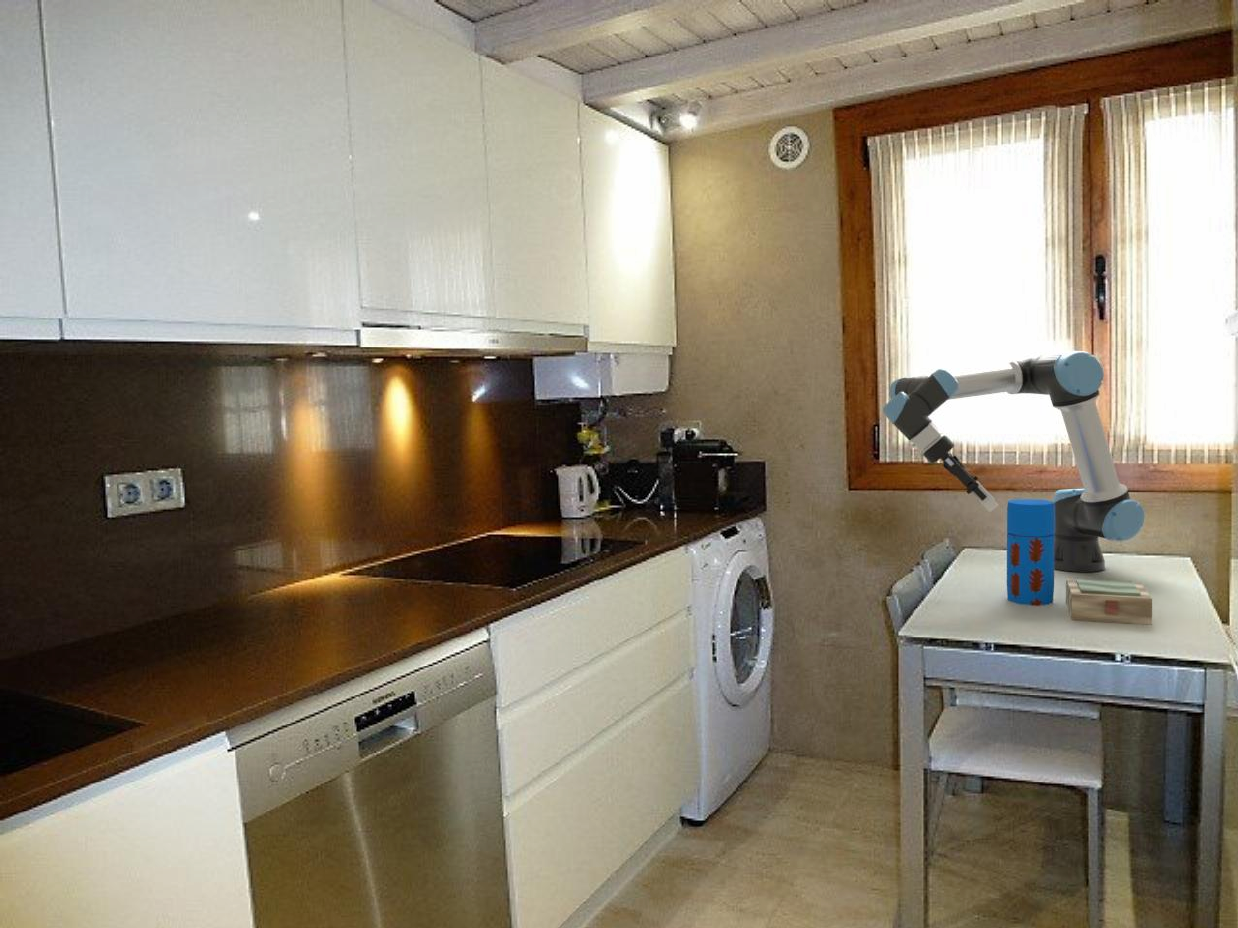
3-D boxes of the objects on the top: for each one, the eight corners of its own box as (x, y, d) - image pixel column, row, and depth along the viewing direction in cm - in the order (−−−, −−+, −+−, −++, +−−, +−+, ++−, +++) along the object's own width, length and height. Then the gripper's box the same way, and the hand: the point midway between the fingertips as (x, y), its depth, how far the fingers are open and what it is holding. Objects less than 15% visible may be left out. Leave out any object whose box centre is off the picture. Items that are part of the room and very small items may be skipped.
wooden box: (1065, 602, 219) (1066, 576, 218) (1139, 607, 213) (1140, 580, 212) (1072, 620, 204) (1072, 592, 203) (1152, 625, 198) (1152, 596, 197)
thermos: (1059, 605, 217) (1060, 504, 214) (1012, 605, 219) (1013, 505, 216) (1047, 595, 227) (1048, 498, 225) (1002, 594, 229) (1003, 499, 227)
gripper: (921, 450, 240) (978, 509, 237) (920, 456, 217) (983, 521, 213) (943, 432, 238) (1000, 490, 234) (945, 435, 215) (1008, 501, 211)
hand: (992, 505), depth 224 cm, fingers open, 13 cm apart
